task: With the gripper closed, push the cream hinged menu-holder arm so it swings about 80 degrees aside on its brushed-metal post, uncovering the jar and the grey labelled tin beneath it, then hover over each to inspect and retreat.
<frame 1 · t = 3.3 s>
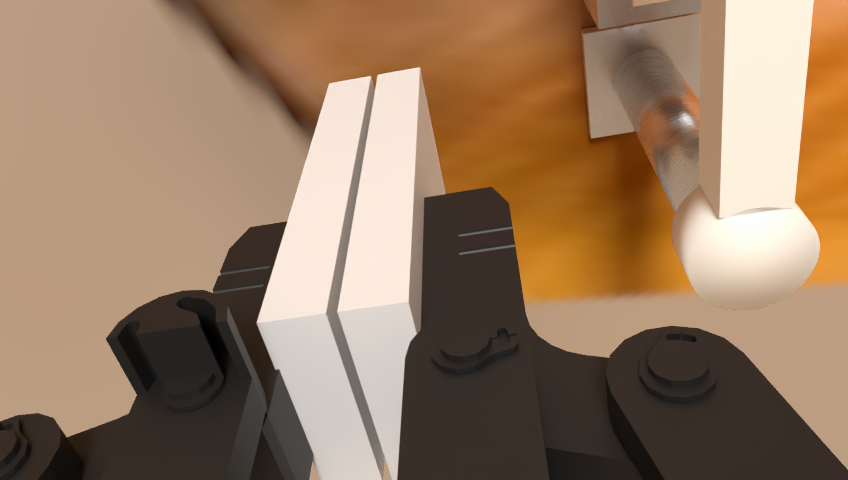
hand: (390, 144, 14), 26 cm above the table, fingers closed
post: (640, 73, 41), on the table
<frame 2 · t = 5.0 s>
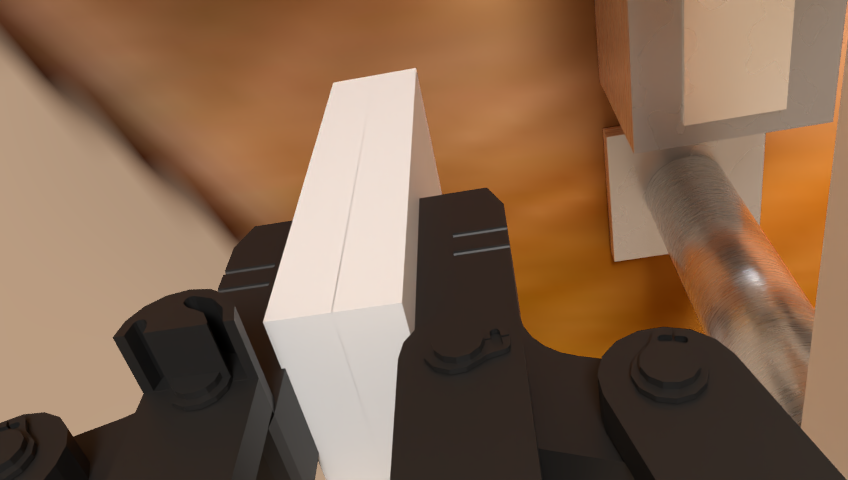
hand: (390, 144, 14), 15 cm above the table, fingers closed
post: (680, 181, 31), on the table
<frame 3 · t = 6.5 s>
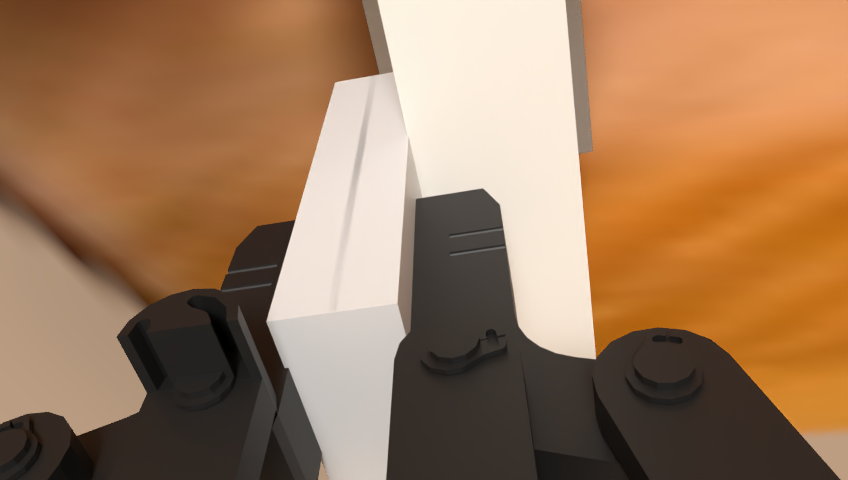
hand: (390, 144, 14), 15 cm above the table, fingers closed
swing arm: (500, 187, 13), point 16 cm above the table, hinge at 0.5°, touching gripper
grey tin: (475, 16, 27), on the table
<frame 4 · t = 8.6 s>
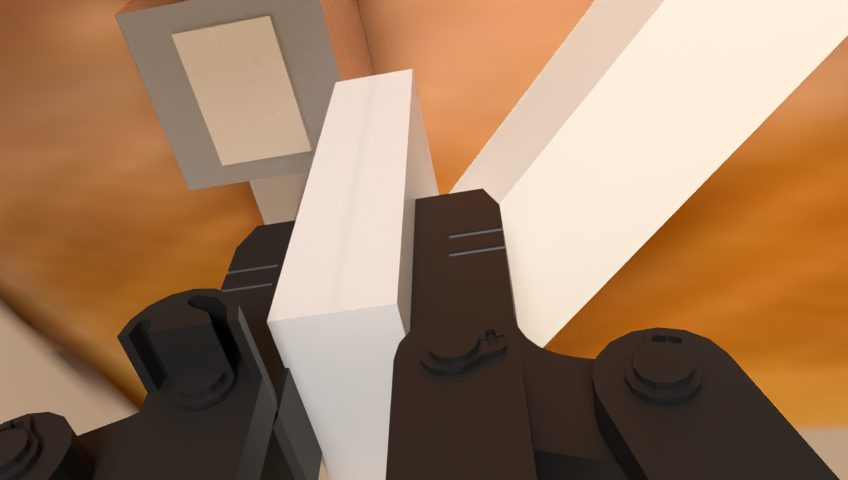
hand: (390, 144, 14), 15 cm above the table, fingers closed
swing arm: (487, 275, 14), point 16 cm above the table, hinge at 43.3°, touching gripper
grey tin: (281, 28, 28), on the table
post: (336, 208, 33), on the table
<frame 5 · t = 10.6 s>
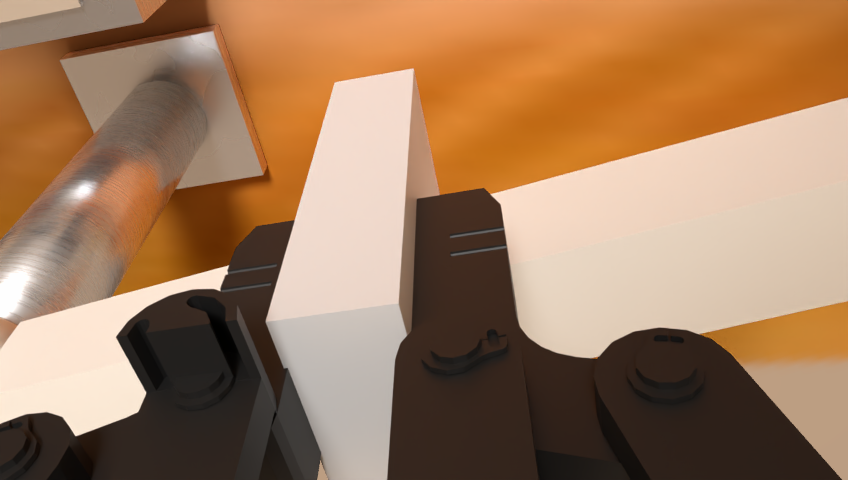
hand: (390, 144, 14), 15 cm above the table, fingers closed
swing arm: (387, 310, 15), point 16 cm above the table, hinge at 82.6°, touching gripper
post: (172, 111, 30), on the table
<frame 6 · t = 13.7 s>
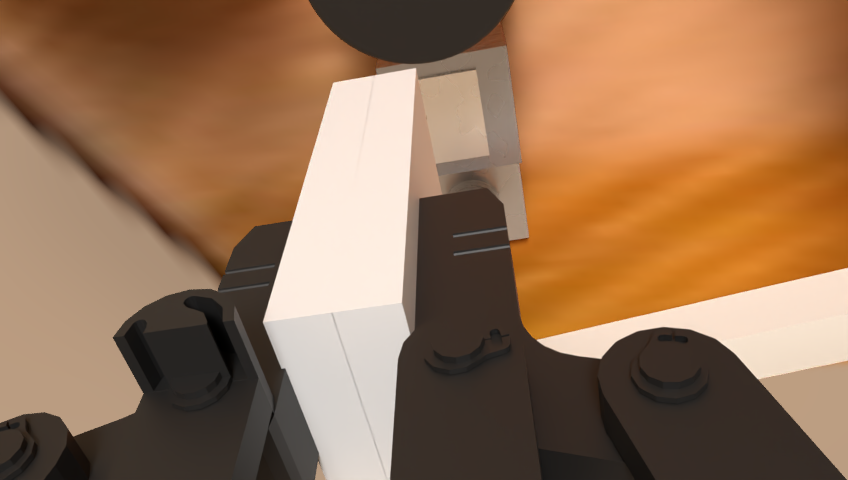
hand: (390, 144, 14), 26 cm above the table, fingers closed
swing arm: (736, 338, 30), point 16 cm above the table, hinge at 82.6°
grey tin: (449, 70, 41), on the table
post: (471, 196, 45), on the table
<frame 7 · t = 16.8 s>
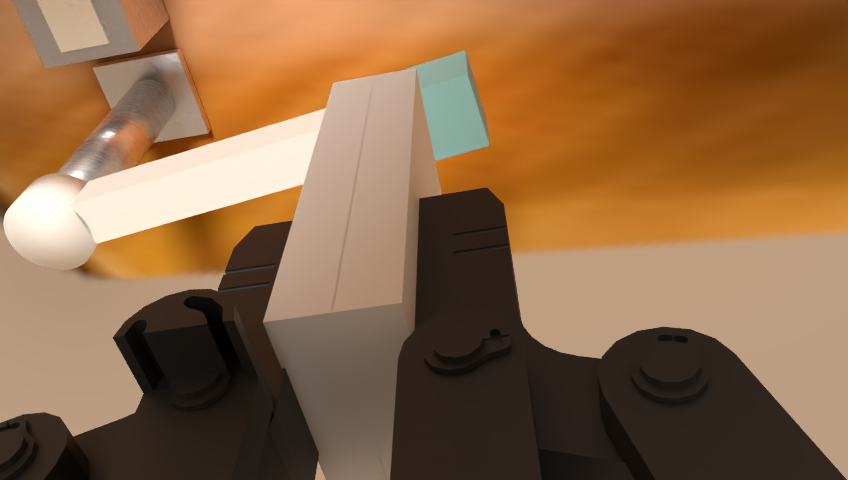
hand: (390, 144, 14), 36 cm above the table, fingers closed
swing arm: (236, 169, 37), point 16 cm above the table, hinge at 82.6°
post: (155, 96, 53), on the table
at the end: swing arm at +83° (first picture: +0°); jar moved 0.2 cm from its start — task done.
